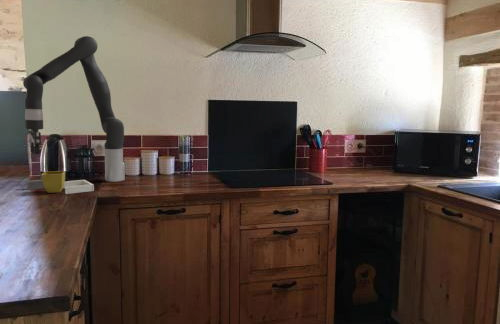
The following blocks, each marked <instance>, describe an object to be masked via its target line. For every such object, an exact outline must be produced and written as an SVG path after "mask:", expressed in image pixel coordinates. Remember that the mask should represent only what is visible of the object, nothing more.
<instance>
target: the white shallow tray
mask: <svg viewBox="0 0 500 324" xmlns="http://www.w3.org/2000/svg"><path fill="white" fill-rule="evenodd" d="M94 185H95V184H93V183H91V182H89V181H88V180H86V179H79V180H78V179H77V180H67V181H66V180H65V183H64V186H63V188H62V189H64V194H66V195H69V194H76V193H77V194H79V193H87V192H88V193H89V192H94V191H95V186H94Z"/></svg>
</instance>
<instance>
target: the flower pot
mask: <svg viewBox="0 0 500 324" xmlns="http://www.w3.org/2000/svg"><path fill="white" fill-rule="evenodd" d="M41 180H42V181H43V185H44V188H43V189H44V190H45V191H46V192H47V193H48V194H52V193H55V194H56V193H60V192H62V190H63V189H64V188H63V186H64V183H65V181H66V171H65V170H62V171H61V170H59V171H58V170H57V171H44V172H43V173H41Z"/></svg>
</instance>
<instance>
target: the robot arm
mask: <svg viewBox="0 0 500 324" xmlns="http://www.w3.org/2000/svg"><path fill="white" fill-rule="evenodd" d="M73 45H74V46H73V47H72V48H70V49H68V50H67V51H65V52H64V53H62V54H61V55H59V56H57V57H56V58H54V59H52V60H50V61H49V62H47V63H46V64H44V65H43V66H42V67H40V68H39V69H37V70H35V71H34V72H33V73H31V74H29V75H28V76H25V77H24V79H23V82H22V85H23V88H25V90H26V97H25V100H24V104H25V105H24V107H25V109H24V110H25V111H24V127H25V130H28V142H29V145H30V153H33V154H34V155H40V153H41V145H42V139H41V137H42V136H41V135H42V133H41V132H40V131H39V130H43V129H44V112H43V100H42V99H43V94H44V85H46V84H47V83H49V82H50V81H53V80H54V79H56V78H57V77H58V76H60V75H61V74H63V73H64V72H65V71H67V70H68V69H69V68H71V67H72V66H73V65H75V64H76V63H78V62H80V64H81V66H82V69H83V72H84V75H85V79H86V82H87V86H88V87H89V91H90V95H91V97H92V99H93V102H94V104H95V107H96V109H97V112H98V117H99V119H100V120H99V121H100V124H101V129H102V132H104V134H105V135H106V136H105V137H106V138H105V143H104V144H103V145H104V174H105V175H104V179H105V180H104V181H106V182H114V183H115V182H121V181H125V180H126V179H125V178H126V176H125V172H126V171H125V168H126V167H125V162H124V147H123V145H124V144H125V143H124V142H125V126H124V123H123V122H122V120H120V119H118V118H116V116H115V113H114V110H113V108H112V97H111V96H112V95H111V90H110V88H109V87H110V86H109V85H108V81H107V78H106V77H105V75H104V73H103V72H102V70H101V69H100V67H99V66H98V64H97V62H96V59H95V53H96V52H97V50H98V43H97V40H96V39H95V38H94V37H91V36H88V35H87V36H86V35H84V36H82V37H78V38H77V39H76V40H75V41H74V44H73Z"/></svg>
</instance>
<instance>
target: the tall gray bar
mask: <svg viewBox="0 0 500 324" xmlns="http://www.w3.org/2000/svg"><path fill="white" fill-rule="evenodd" d="M25 185H26V186H25V187H26V190H28V191H31V190H40V189H45V188H44V185H43V181H42V179H35V180H33V179H32V180H26V183H25Z"/></svg>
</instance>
